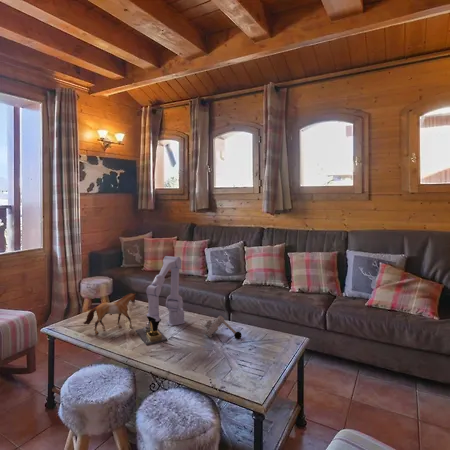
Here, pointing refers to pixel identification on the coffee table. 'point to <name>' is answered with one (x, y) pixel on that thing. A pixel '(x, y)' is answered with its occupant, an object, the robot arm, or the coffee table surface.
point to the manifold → (146, 336)
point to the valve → (214, 326)
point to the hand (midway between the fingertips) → (153, 329)
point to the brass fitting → (153, 333)
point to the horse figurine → (111, 310)
